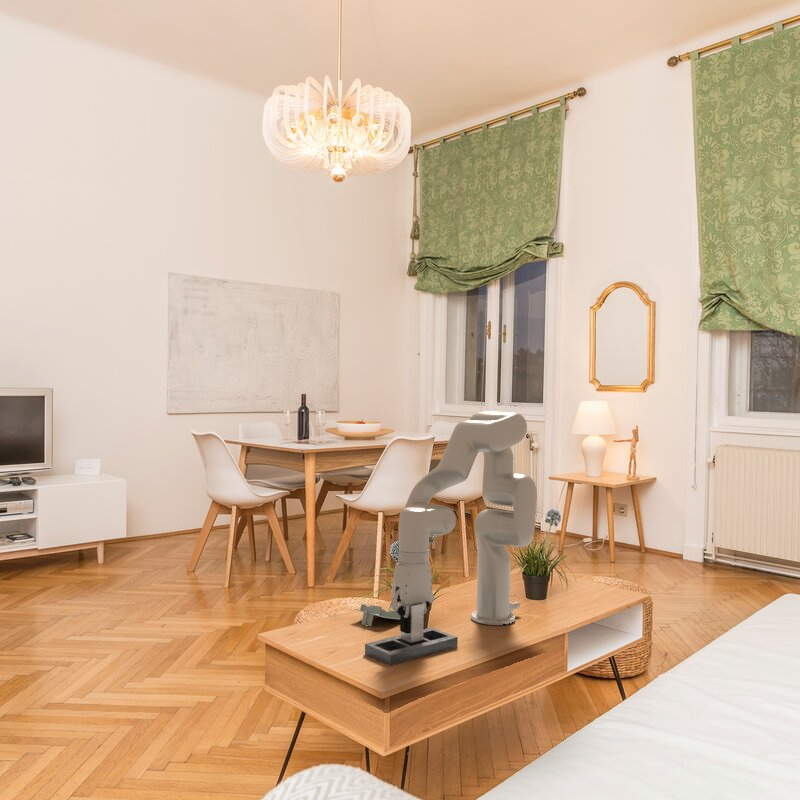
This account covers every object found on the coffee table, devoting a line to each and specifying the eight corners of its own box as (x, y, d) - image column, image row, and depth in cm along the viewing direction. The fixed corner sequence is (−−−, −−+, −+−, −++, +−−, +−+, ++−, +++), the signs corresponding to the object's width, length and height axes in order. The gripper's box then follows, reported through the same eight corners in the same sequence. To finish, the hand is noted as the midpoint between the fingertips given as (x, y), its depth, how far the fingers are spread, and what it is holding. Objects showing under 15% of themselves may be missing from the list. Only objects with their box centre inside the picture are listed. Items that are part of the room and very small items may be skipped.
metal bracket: (387, 611, 195) (348, 600, 205) (383, 633, 194) (343, 621, 204) (419, 615, 206) (380, 605, 215) (415, 636, 204) (376, 625, 214)
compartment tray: (431, 636, 192) (431, 627, 192) (457, 647, 184) (457, 637, 184) (364, 653, 178) (365, 643, 178) (390, 665, 170) (390, 655, 170)
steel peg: (412, 635, 183) (413, 600, 184) (423, 639, 180) (423, 603, 180) (400, 638, 181) (401, 602, 181) (411, 642, 178) (411, 606, 178)
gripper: (428, 551, 189) (426, 621, 189) (378, 558, 178) (376, 632, 178) (448, 556, 183) (446, 628, 183) (397, 564, 173) (395, 640, 172)
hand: (412, 629), depth 181 cm, fingers closed on steel peg, 4 cm apart
